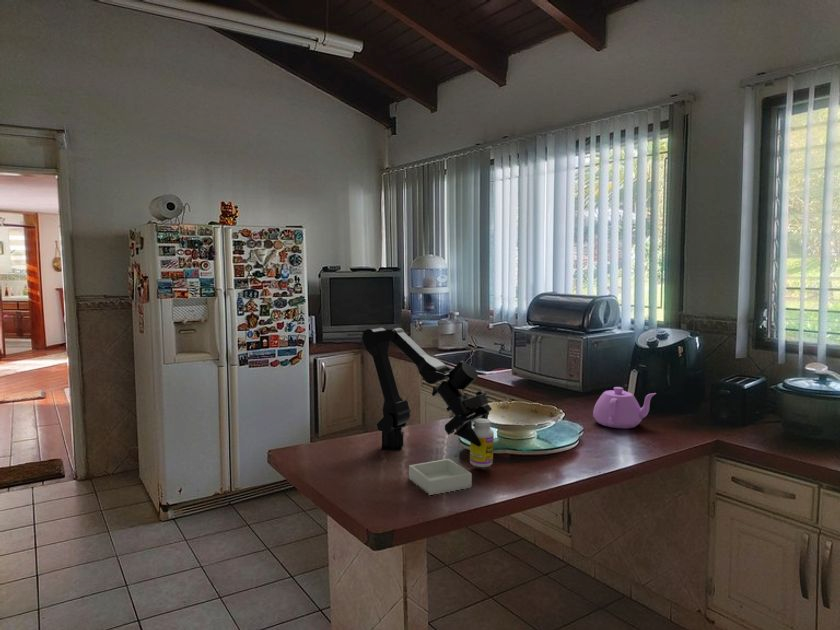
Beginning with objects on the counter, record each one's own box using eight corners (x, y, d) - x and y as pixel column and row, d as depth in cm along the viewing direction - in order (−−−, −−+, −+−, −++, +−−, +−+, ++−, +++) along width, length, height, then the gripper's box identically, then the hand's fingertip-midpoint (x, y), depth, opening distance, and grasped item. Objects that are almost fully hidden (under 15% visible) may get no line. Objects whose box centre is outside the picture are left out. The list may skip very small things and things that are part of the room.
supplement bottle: (486, 469, 165) (487, 425, 163) (465, 464, 168) (466, 421, 167) (496, 462, 170) (497, 419, 169) (476, 457, 174) (477, 416, 172)
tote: (409, 479, 162) (409, 465, 161) (448, 472, 167) (448, 458, 167) (429, 496, 150) (429, 481, 150) (471, 487, 156) (471, 473, 155)
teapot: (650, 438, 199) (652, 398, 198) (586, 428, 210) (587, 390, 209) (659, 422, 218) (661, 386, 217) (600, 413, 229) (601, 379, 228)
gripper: (454, 388, 161) (488, 435, 156) (487, 377, 177) (519, 419, 172) (430, 411, 167) (462, 457, 162) (463, 398, 182) (494, 439, 177)
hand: (486, 442), depth 168 cm, fingers closed on supplement bottle, 7 cm apart
